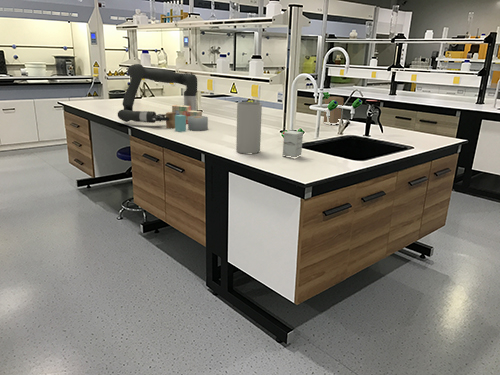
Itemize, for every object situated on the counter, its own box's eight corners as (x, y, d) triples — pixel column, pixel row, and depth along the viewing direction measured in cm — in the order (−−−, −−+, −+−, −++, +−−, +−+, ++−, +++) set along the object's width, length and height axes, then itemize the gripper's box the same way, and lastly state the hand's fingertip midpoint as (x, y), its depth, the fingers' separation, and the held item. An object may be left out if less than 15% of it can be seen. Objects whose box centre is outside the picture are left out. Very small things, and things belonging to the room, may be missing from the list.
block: (333, 125, 293) (335, 98, 287) (322, 123, 300) (325, 96, 294) (341, 124, 299) (344, 97, 293) (331, 122, 306) (333, 96, 300)
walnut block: (166, 128, 264) (165, 113, 261) (168, 126, 269) (168, 112, 266) (173, 128, 264) (173, 113, 261) (176, 127, 268) (175, 112, 265)
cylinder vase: (235, 148, 214) (236, 101, 205) (258, 149, 214) (260, 102, 206) (236, 154, 202) (237, 104, 194) (261, 154, 203) (263, 105, 195)
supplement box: (281, 156, 200) (283, 132, 195) (289, 154, 205) (290, 130, 201) (295, 159, 196) (296, 134, 192) (301, 156, 202) (303, 131, 198)
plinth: (184, 128, 265) (184, 116, 262) (200, 126, 273) (200, 114, 270) (195, 131, 256) (195, 119, 253) (211, 129, 264) (211, 117, 261)
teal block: (175, 130, 257) (174, 115, 254) (181, 129, 260) (181, 114, 257) (179, 131, 253) (178, 116, 250) (186, 131, 257) (185, 115, 253)
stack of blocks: (202, 124, 283) (202, 107, 279) (197, 125, 278) (197, 107, 274) (177, 121, 291) (176, 104, 287) (172, 122, 286) (171, 105, 282)
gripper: (143, 112, 258) (167, 113, 256) (151, 109, 272) (174, 111, 270) (144, 124, 261) (167, 125, 259) (152, 120, 274) (174, 121, 272)
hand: (171, 118), depth 264 cm, fingers open, 8 cm apart
